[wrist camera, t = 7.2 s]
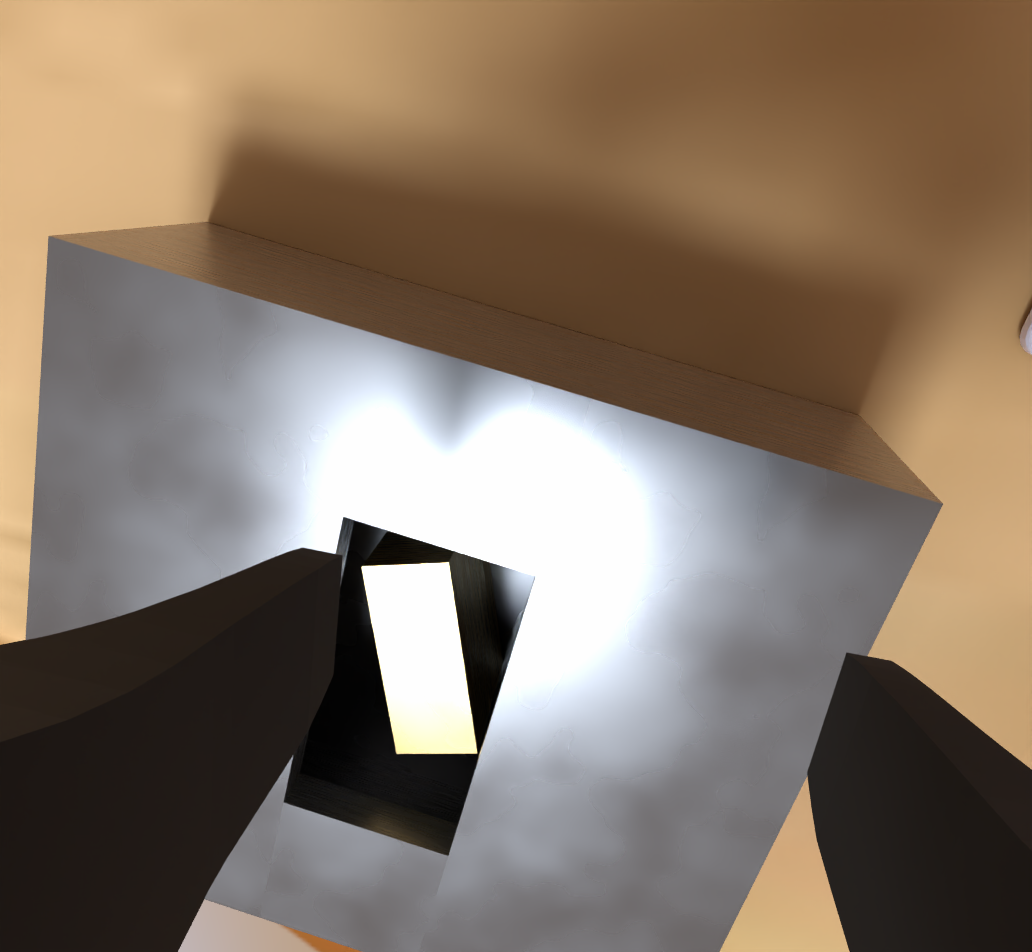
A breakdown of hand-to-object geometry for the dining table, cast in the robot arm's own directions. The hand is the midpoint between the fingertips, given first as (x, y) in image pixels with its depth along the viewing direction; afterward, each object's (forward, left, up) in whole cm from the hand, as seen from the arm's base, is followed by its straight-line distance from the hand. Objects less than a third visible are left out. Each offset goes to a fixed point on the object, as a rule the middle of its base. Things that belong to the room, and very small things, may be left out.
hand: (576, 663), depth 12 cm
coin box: (+3, +5, -10) cm, 12 cm away
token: (+3, +5, -10) cm, 11 cm away
